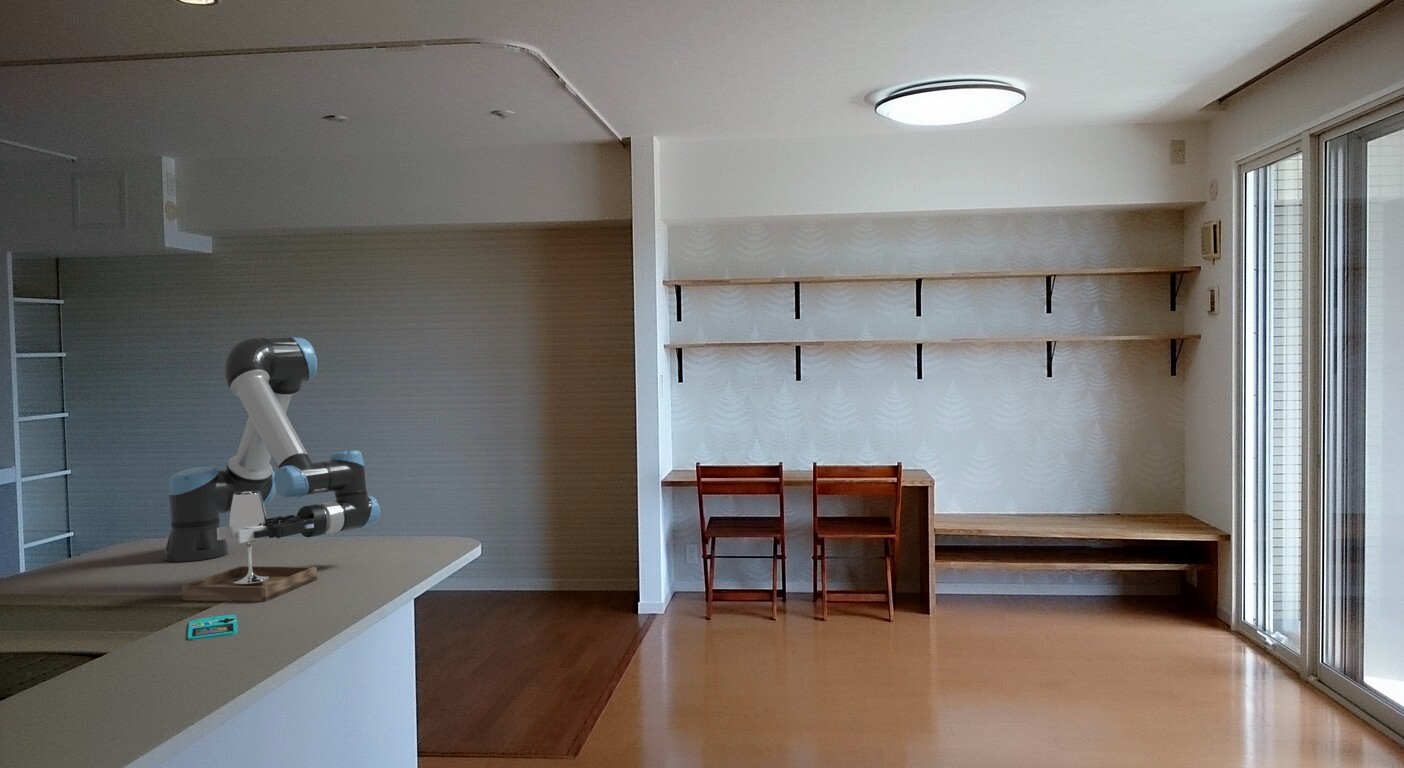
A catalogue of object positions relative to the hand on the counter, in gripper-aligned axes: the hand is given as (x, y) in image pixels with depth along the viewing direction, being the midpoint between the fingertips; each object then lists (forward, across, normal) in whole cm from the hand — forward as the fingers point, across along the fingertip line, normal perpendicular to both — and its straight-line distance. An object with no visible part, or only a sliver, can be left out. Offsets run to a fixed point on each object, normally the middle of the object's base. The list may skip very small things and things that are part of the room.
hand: (228, 535), depth 218 cm
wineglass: (-5, 0, -11) cm, 12 cm away
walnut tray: (-5, 0, -13) cm, 14 cm away
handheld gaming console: (+17, -24, -14) cm, 33 cm away
